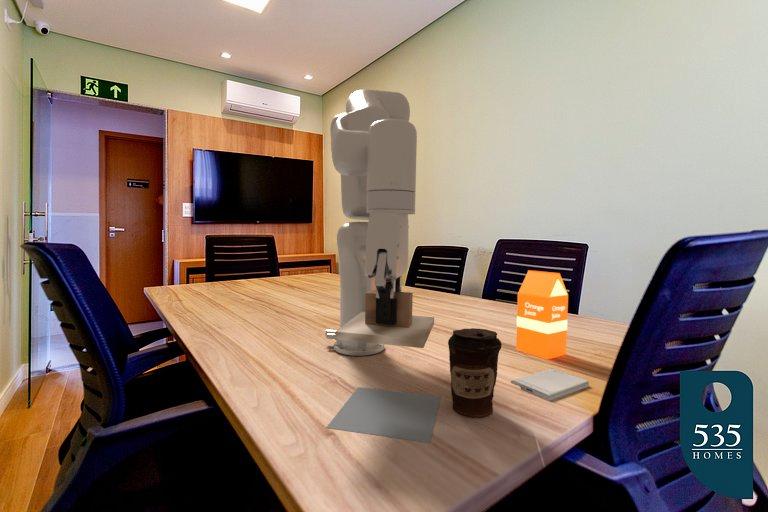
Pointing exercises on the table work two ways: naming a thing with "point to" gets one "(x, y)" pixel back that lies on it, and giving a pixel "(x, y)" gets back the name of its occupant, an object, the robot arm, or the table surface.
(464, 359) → the coffee cup
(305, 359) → the table surface
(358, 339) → the lid
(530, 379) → the hard drive
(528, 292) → the orange juice
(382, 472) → the table surface
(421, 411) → the mat
